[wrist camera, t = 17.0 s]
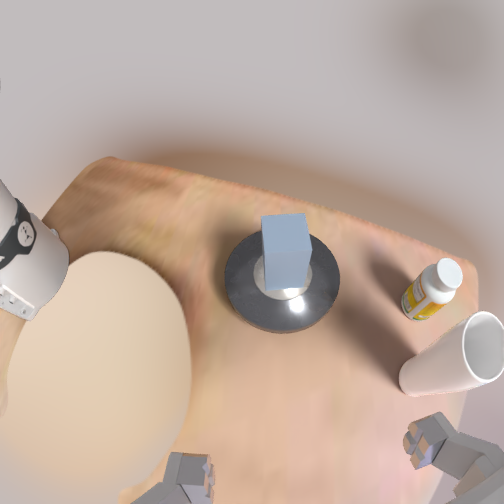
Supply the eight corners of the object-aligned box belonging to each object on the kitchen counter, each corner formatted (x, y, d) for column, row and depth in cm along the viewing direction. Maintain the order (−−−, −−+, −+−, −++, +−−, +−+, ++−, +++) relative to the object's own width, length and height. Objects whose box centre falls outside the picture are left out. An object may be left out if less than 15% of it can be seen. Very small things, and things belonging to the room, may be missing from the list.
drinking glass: (387, 360, 31) (451, 319, 18) (428, 347, 31) (497, 302, 18) (397, 409, 27) (470, 395, 14) (438, 392, 27) (515, 366, 14)
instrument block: (265, 290, 32) (264, 253, 26) (262, 258, 35) (261, 216, 28) (303, 287, 32) (312, 249, 26) (298, 255, 35) (304, 213, 28)
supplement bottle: (393, 305, 35) (424, 271, 26) (411, 281, 36) (441, 244, 28) (420, 330, 32) (457, 301, 24) (436, 304, 34) (471, 271, 26)
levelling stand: (230, 343, 33) (224, 332, 29) (227, 248, 41) (223, 228, 37) (341, 332, 33) (351, 320, 29) (322, 241, 41) (328, 220, 37)
